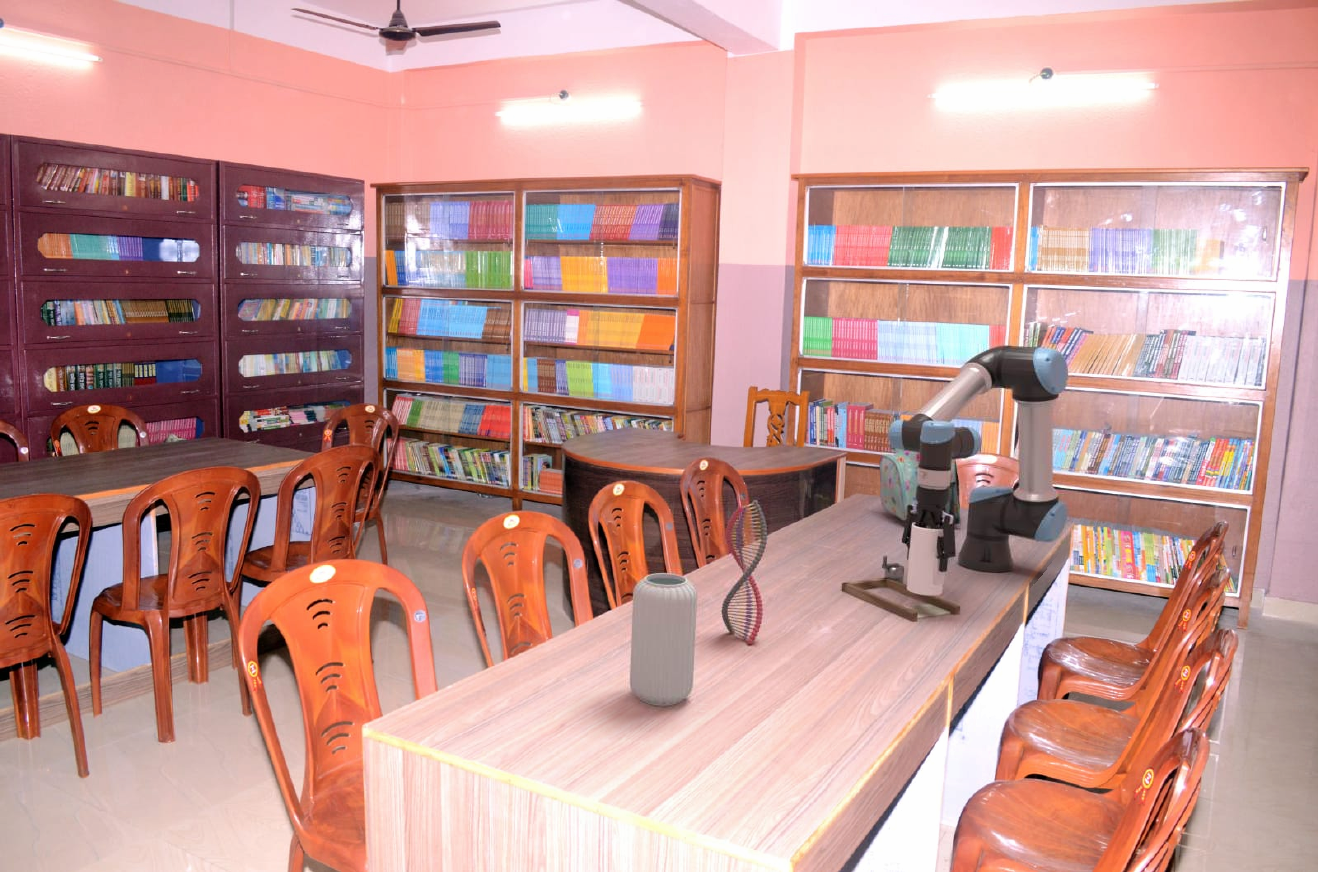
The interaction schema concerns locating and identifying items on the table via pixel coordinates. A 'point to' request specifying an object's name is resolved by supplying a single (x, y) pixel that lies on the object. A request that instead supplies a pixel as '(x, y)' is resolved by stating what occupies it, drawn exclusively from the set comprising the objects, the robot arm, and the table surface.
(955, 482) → the backpack
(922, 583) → the cup
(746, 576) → the dna model
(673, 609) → the vase
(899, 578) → the winch drum
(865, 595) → the frame
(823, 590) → the table surface
